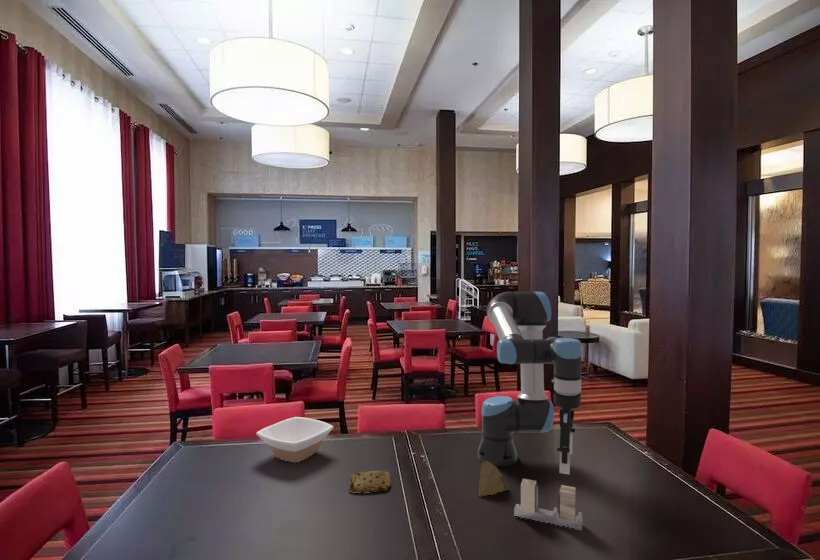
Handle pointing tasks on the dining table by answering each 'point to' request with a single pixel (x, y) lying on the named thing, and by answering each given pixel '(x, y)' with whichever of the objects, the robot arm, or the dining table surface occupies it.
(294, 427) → the bowl
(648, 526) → the dining table surface
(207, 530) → the dining table surface
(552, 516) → the grey l-shaped piece
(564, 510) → the block
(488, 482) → the rock
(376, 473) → the pastry
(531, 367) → the robot arm
